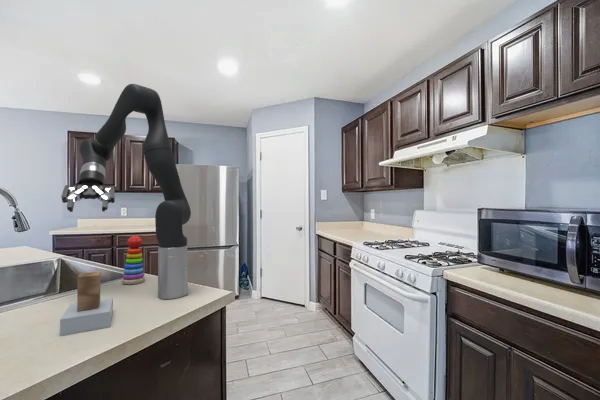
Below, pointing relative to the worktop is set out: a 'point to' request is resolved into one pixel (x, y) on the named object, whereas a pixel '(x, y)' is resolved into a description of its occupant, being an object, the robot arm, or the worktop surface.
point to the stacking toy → (133, 262)
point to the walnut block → (88, 291)
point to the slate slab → (86, 318)
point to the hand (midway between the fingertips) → (87, 210)
